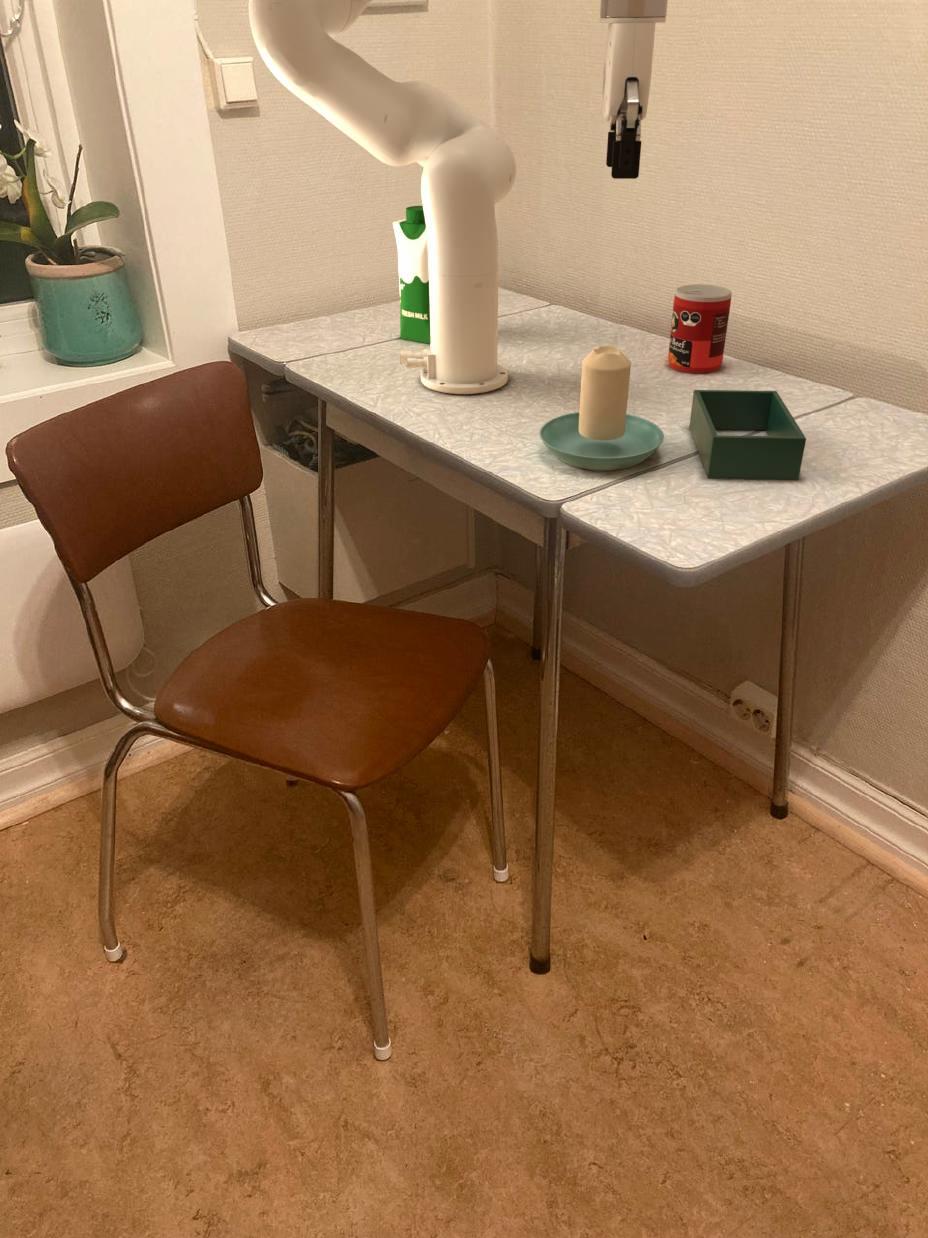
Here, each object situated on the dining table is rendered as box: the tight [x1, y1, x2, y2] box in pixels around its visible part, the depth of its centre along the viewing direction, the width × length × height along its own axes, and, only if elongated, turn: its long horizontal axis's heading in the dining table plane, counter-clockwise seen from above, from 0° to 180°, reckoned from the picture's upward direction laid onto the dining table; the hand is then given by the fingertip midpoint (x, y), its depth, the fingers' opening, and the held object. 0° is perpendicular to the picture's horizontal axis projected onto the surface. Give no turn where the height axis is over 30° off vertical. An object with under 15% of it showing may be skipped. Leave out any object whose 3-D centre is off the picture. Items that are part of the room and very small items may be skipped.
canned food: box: [667, 283, 733, 374], centre depth 141 cm, size 8×8×11 cm
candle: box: [578, 345, 632, 440], centre depth 112 cm, size 6×6×10 cm
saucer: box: [538, 411, 665, 472], centre depth 115 cm, size 15×15×3 cm
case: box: [688, 389, 807, 481], centre depth 115 cm, size 10×16×5 cm, turn 176°
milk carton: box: [392, 205, 431, 345], centre depth 153 cm, size 9×9×20 cm
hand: (621, 172), depth 119 cm, fingers open, 9 cm apart
